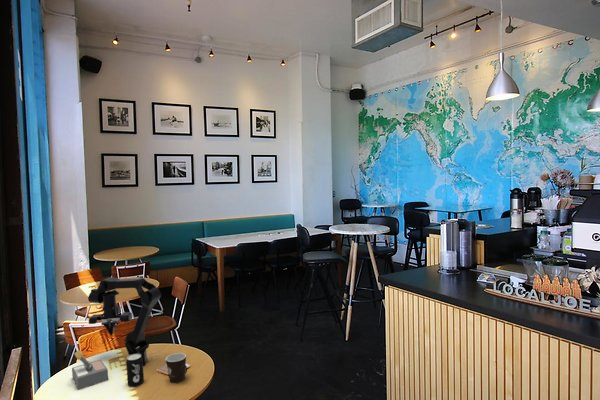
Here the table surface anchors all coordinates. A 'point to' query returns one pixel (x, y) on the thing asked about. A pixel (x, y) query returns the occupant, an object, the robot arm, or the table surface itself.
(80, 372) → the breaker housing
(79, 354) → the breaker lever
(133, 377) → the beverage can
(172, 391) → the table surface
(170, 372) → the coffee mug
